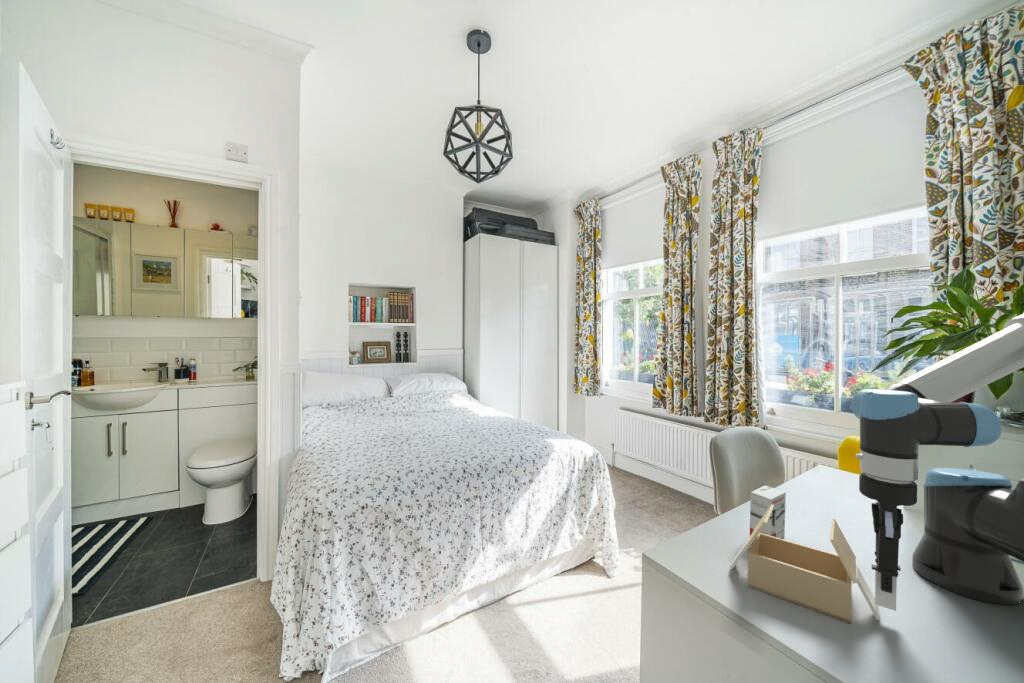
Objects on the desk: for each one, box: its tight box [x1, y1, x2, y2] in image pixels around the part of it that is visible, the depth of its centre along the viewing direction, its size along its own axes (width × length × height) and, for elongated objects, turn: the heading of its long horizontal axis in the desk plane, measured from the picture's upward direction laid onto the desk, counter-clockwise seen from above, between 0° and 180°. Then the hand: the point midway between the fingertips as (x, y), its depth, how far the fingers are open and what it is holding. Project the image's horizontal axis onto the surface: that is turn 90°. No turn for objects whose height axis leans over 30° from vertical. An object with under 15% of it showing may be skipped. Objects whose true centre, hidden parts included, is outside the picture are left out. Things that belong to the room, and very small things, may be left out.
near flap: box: [829, 518, 881, 621], centre depth 73 cm, size 15×11×1 cm
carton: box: [747, 533, 853, 625], centre depth 79 cm, size 16×11×7 cm
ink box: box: [749, 485, 787, 539], centre depth 99 cm, size 8×5×12 cm, turn 123°
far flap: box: [729, 504, 774, 570], centre depth 84 cm, size 15×11×1 cm
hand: (885, 605), depth 71 cm, fingers closed
